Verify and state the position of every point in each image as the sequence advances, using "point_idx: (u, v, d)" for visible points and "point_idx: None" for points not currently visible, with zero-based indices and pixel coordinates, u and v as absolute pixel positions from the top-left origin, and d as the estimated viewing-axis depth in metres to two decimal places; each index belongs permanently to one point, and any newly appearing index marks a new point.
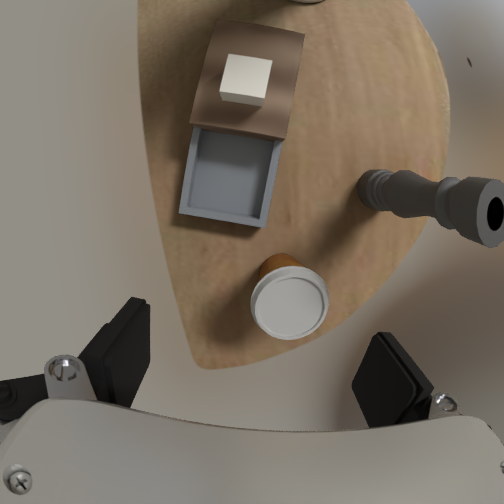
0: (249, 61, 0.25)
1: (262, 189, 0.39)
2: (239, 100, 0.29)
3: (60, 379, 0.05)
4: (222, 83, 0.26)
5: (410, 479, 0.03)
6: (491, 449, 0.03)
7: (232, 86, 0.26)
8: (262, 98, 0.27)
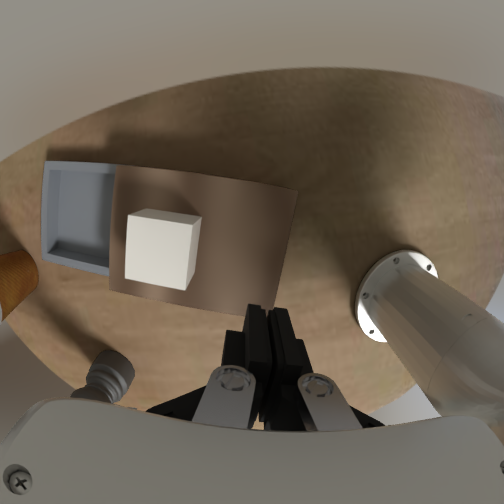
0: (179, 257, 0.20)
1: (81, 251, 0.29)
2: None
3: (224, 386, 0.06)
4: (139, 218, 0.19)
5: (410, 479, 0.03)
6: (491, 449, 0.03)
7: (136, 233, 0.19)
8: None
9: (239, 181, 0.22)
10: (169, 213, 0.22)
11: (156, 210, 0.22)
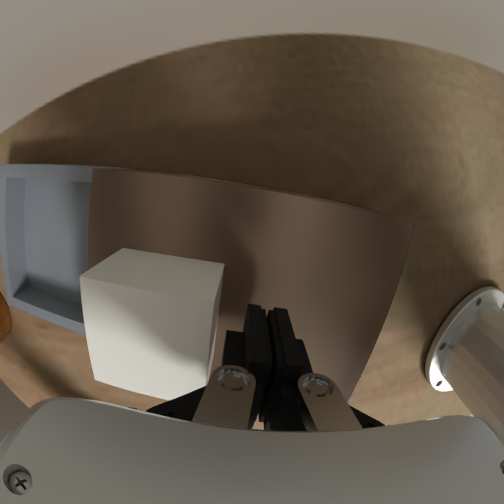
0: (189, 359, 0.09)
1: (58, 294, 0.19)
2: None
3: (224, 386, 0.06)
4: (102, 285, 0.09)
5: (410, 479, 0.03)
6: (491, 449, 0.03)
7: (99, 312, 0.09)
8: None
9: (326, 204, 0.12)
10: (163, 260, 0.12)
11: (140, 252, 0.12)
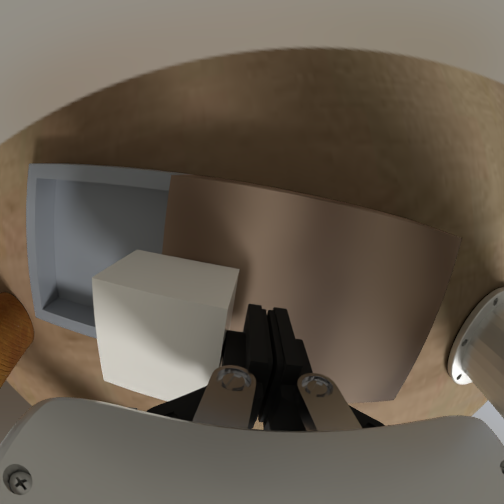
0: (200, 365, 0.09)
1: None
2: None
3: (224, 386, 0.06)
4: (114, 287, 0.09)
5: (410, 479, 0.03)
6: (491, 449, 0.03)
7: (111, 315, 0.09)
8: None
9: (400, 221, 0.12)
10: (178, 263, 0.12)
11: (154, 255, 0.12)
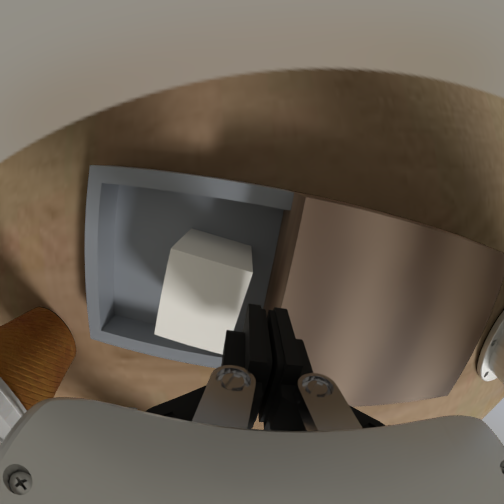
0: None
1: None
2: None
3: (224, 386, 0.06)
4: None
5: (410, 479, 0.03)
6: (491, 449, 0.03)
7: None
8: None
9: (474, 244, 0.12)
10: (237, 252, 0.15)
11: (246, 248, 0.17)
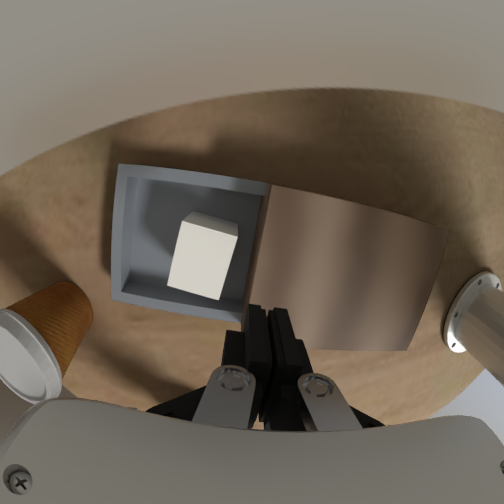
0: None
1: (169, 286, 0.25)
2: None
3: (224, 386, 0.06)
4: None
5: (410, 479, 0.03)
6: (491, 449, 0.03)
7: None
8: None
9: (409, 219, 0.19)
10: (227, 226, 0.21)
11: (233, 224, 0.23)
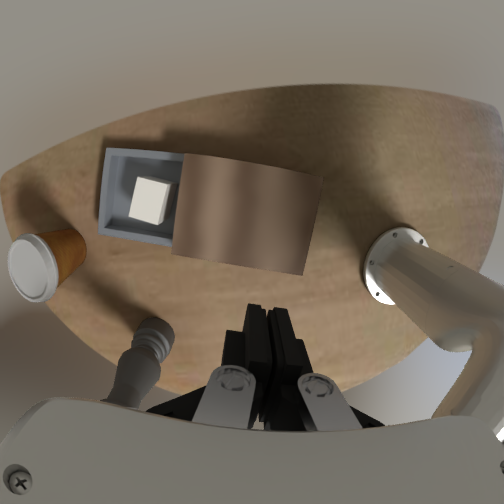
0: None
1: (135, 227, 0.37)
2: None
3: (224, 386, 0.06)
4: (148, 177, 0.34)
5: (410, 479, 0.03)
6: (491, 449, 0.03)
7: None
8: None
9: (282, 169, 0.30)
10: (167, 182, 0.33)
11: (173, 182, 0.34)
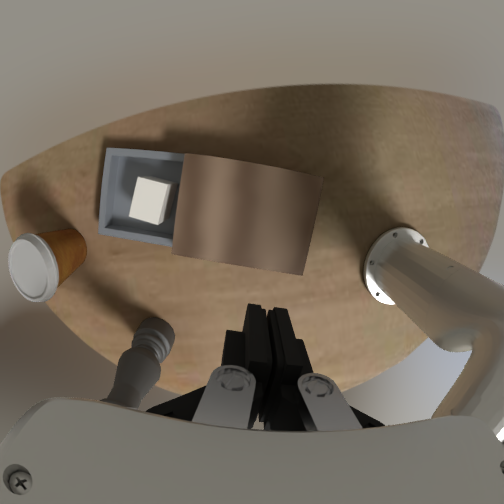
0: None
1: (136, 227, 0.37)
2: None
3: (224, 386, 0.06)
4: (148, 177, 0.34)
5: (410, 479, 0.03)
6: (491, 449, 0.03)
7: None
8: None
9: (282, 169, 0.30)
10: (167, 182, 0.33)
11: (173, 182, 0.34)
